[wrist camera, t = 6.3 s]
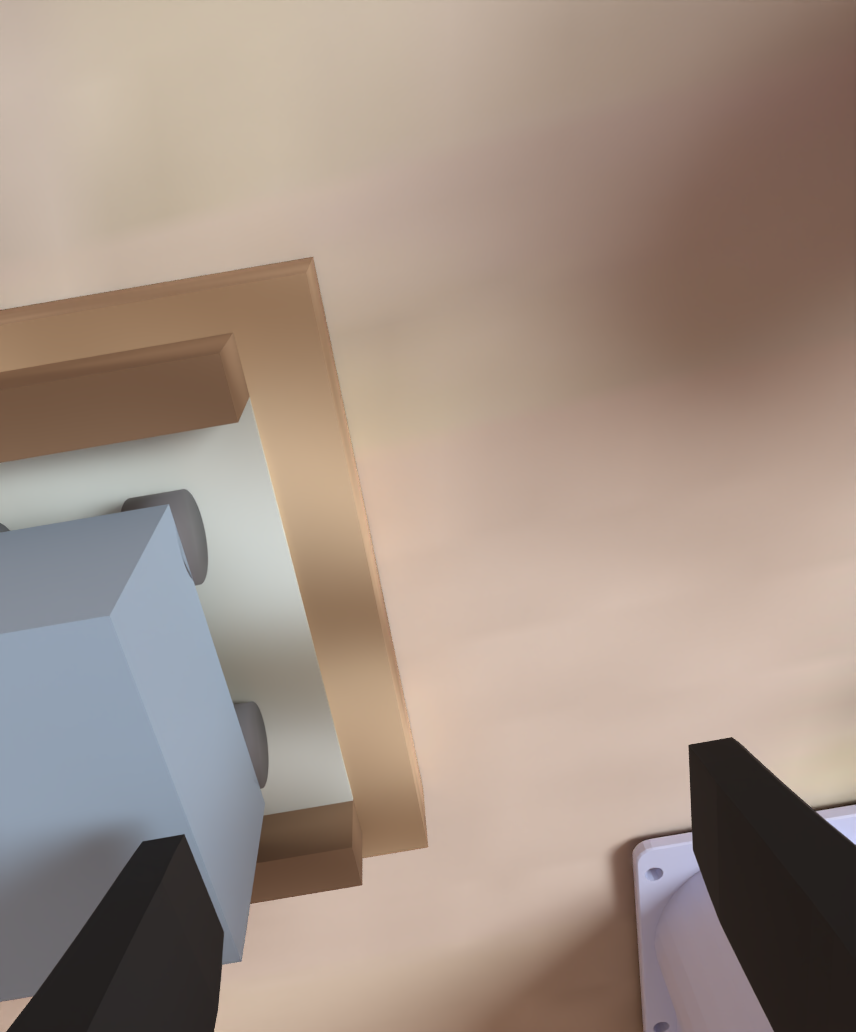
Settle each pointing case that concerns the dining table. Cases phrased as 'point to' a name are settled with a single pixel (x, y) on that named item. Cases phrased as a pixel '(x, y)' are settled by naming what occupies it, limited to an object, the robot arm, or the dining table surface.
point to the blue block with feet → (115, 727)
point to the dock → (236, 528)
